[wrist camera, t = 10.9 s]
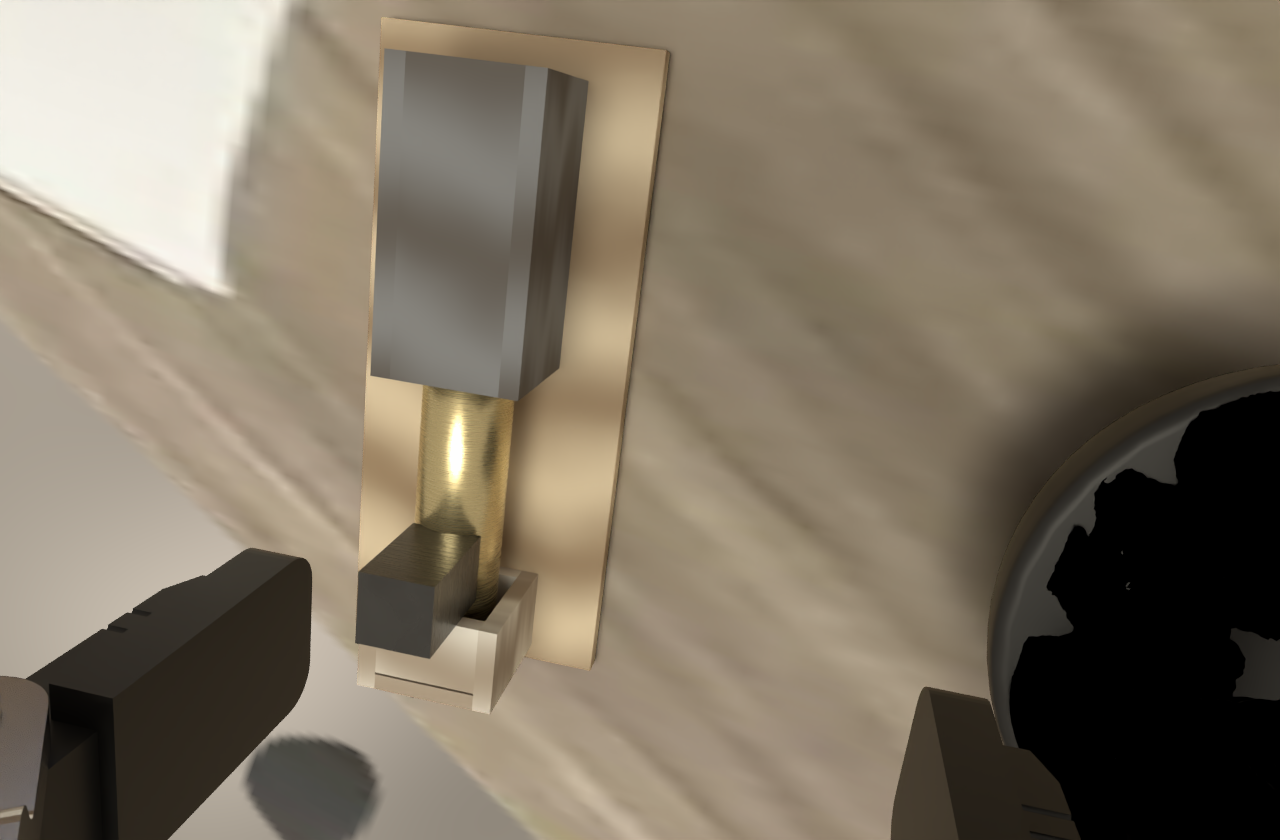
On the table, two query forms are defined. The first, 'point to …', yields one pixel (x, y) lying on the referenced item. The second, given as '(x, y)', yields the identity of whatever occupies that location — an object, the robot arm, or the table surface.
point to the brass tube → (443, 529)
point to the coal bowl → (1153, 620)
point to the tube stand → (508, 315)
